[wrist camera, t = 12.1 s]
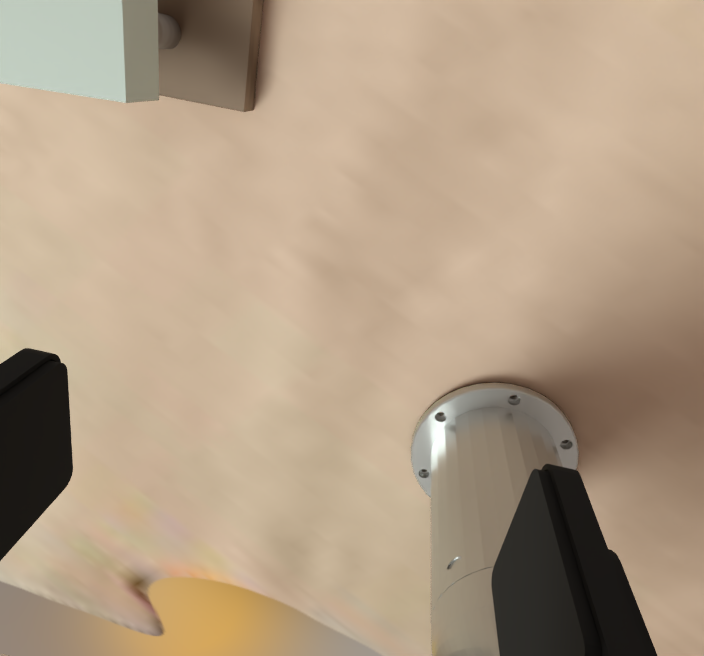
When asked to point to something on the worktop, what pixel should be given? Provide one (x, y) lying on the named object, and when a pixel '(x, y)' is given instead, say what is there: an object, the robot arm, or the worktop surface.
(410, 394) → the worktop surface
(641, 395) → the worktop surface
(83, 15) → the shelf board
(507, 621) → the robot arm
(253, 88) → the peg stand
